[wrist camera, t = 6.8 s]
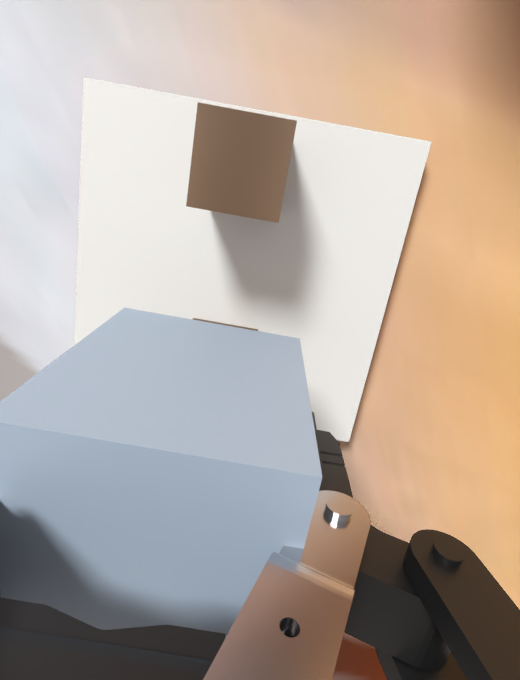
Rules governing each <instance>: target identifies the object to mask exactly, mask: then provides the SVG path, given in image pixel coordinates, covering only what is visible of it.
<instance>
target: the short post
mask: <svg viewBox="0 0 520 680" xmlns="http://www.w3.org/2000/svg"><path fill="white" fill-rule="evenodd" d="M296 124H297V121H296V120H291V119H285V118H280V117H275V116H269V115H264V114H259V113H253V112H248V111H242V110H237V109H232V108H226V107H221V106H216V105H210V104H205V103H199V102H198V104H197V113H196V122H195V131H194V140H193V149H192V158H191V167H190V176H189V184H188V193H187V202H186V206H187V207H193V208H198V209H204V210H209V211H215V212H220V213H226V214H231V215H237V216H242V217H248V218H253V219H259V220H264V221H270V222H275V223H279V218H280V212H281V207H282V201H283V196H284V190H285V185H286V179H287V174H288V168H289V163H290V157H291V152H292V146H293V141H294V135H295V129H296Z"/></svg>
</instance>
